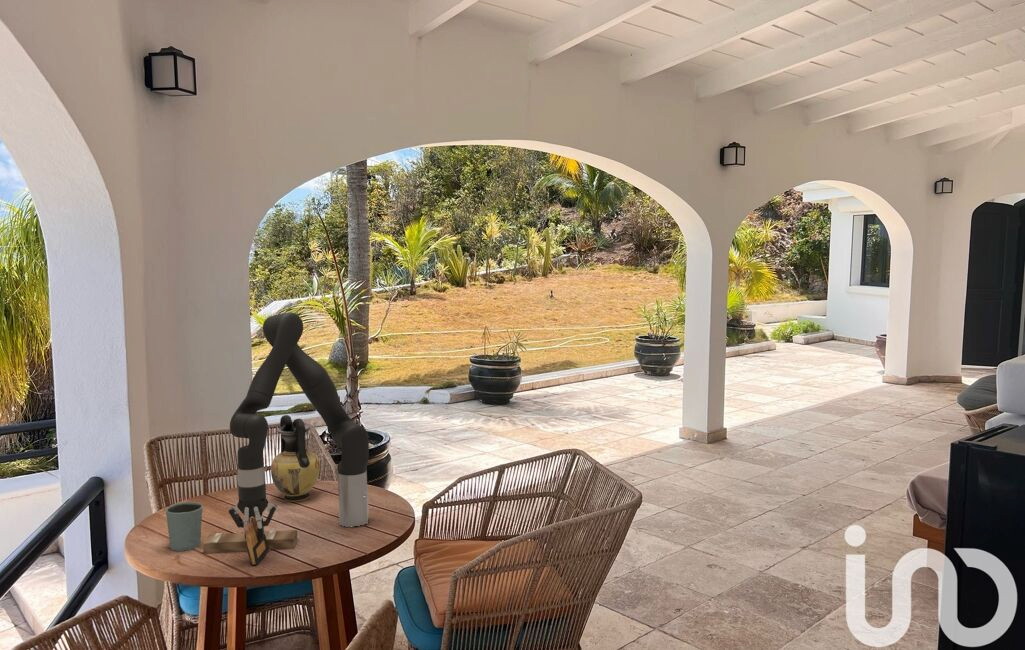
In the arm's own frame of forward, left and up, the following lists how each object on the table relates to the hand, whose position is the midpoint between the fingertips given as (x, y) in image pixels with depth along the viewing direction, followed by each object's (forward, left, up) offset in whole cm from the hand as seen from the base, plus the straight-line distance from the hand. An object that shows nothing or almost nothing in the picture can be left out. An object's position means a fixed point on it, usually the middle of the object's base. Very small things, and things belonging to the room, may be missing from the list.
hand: (254, 539), depth 213 cm
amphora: (-3, -53, -6) cm, 53 cm away
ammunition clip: (-1, 0, -6) cm, 6 cm away
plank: (+3, -10, -6) cm, 12 cm away
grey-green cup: (+23, -13, -6) cm, 27 cm away
